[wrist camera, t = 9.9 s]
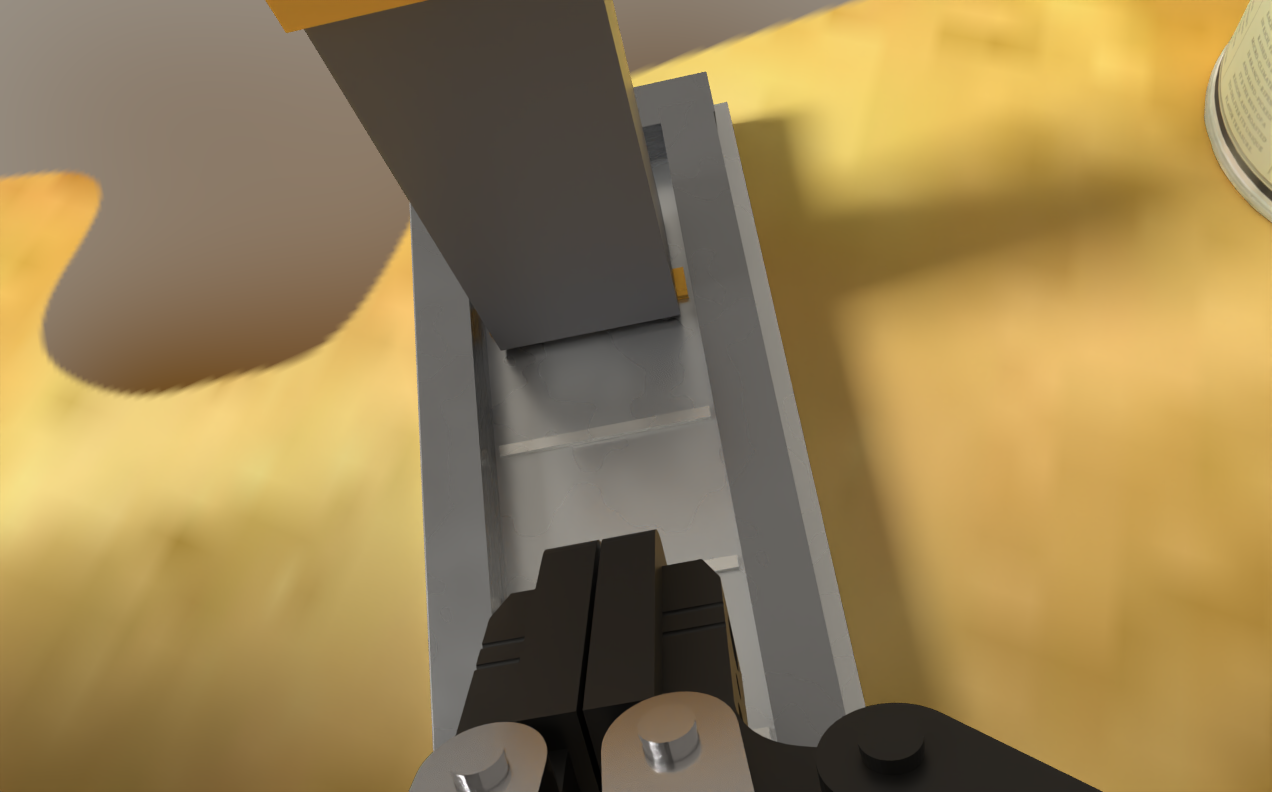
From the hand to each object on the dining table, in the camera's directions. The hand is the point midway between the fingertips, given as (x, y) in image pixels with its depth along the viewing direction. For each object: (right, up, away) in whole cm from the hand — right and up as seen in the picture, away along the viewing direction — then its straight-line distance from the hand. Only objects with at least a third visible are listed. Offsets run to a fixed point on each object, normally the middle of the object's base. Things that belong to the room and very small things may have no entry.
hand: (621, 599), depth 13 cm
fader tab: (-1, +6, +15) cm, 16 cm away
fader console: (0, -1, +13) cm, 13 cm away
